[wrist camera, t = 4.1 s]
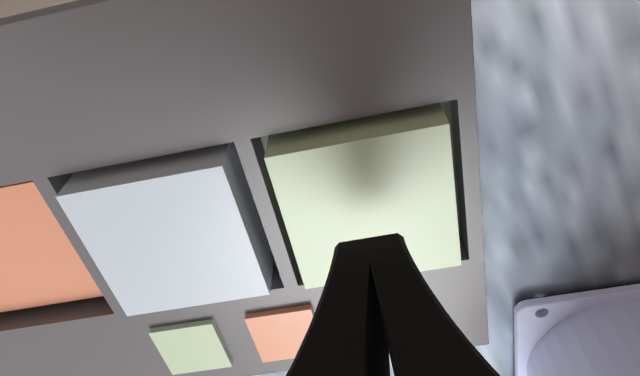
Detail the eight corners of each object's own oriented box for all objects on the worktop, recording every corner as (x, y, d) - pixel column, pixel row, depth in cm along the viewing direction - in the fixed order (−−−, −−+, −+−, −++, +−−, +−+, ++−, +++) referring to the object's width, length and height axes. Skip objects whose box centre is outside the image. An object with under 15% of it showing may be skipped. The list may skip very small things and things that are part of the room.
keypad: (425, -103, 13) (469, -82, 9) (457, 249, 20) (490, 349, 16) (-119, 28, 15) (-273, 90, 11) (71, 309, 22) (16, 411, 18)
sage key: (431, 83, 13) (449, 123, 11) (444, 213, 15) (461, 265, 14) (272, 114, 14) (263, 158, 12) (307, 236, 16) (305, 289, 14)
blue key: (236, 121, 14) (222, 166, 12) (276, 241, 16) (270, 294, 14) (91, 150, 14) (54, 196, 12) (149, 262, 17) (127, 316, 15)
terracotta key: (73, 139, 15) (37, 181, 13) (130, 246, 18) (107, 295, 16) (-54, 164, 16) (-106, 208, 14) (18, 265, 18) (-18, 315, 16)
